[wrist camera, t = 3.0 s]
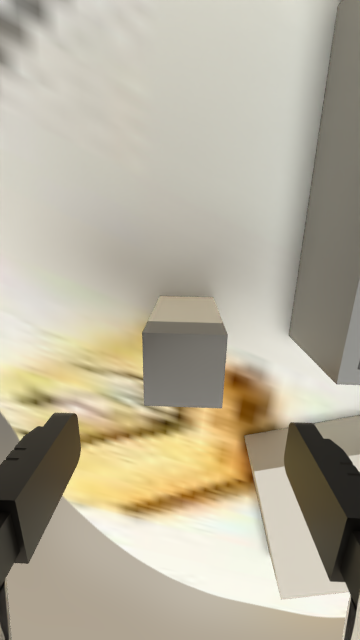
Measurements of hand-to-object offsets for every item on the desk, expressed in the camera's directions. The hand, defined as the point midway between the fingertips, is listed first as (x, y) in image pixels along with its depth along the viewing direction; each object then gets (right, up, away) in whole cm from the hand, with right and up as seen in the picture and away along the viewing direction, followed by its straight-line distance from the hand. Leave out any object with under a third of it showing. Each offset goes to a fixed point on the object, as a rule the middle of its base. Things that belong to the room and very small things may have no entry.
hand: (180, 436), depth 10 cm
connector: (0, +4, +13) cm, 14 cm away
